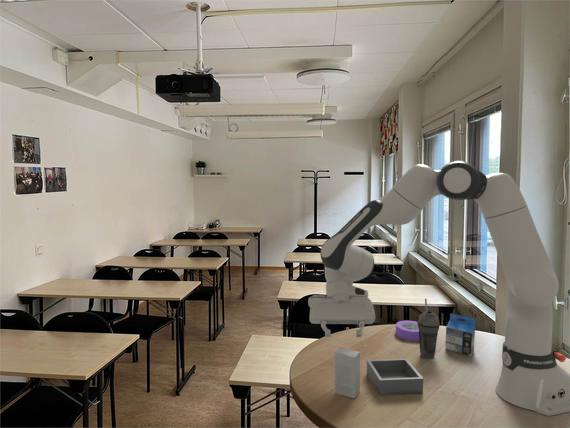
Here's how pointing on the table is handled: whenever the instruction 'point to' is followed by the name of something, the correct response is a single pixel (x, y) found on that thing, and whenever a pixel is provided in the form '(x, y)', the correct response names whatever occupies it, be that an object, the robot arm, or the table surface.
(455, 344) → the label tape cartridge
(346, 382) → the skincare box
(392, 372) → the box
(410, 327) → the masking tape
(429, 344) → the beverage cup
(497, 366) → the table surface
